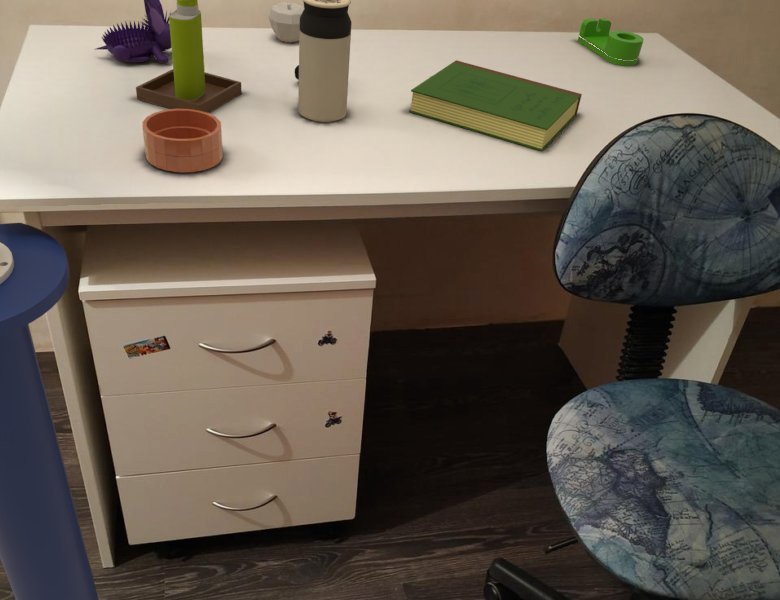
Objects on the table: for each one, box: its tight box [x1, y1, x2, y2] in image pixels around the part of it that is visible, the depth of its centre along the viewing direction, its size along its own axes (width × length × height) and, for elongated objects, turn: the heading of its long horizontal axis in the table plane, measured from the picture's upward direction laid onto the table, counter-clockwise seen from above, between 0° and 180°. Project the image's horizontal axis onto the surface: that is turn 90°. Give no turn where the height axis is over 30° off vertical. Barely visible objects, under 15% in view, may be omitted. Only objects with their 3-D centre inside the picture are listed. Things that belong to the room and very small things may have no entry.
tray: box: [135, 68, 243, 114], centre depth 133 cm, size 12×12×2 cm
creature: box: [95, 0, 172, 64], centre depth 140 cm, size 9×18×12 cm, turn 107°
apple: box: [268, 2, 304, 44], centre depth 156 cm, size 8×8×7 cm
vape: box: [168, 0, 206, 101], centre depth 126 cm, size 4×6×20 cm, turn 167°
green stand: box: [577, 17, 644, 67], centre depth 169 cm, size 15×7×5 cm, turn 22°
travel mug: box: [297, 0, 352, 123], centre depth 127 cm, size 8×8×18 cm
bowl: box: [141, 108, 224, 173], centre depth 115 cm, size 11×11×5 cm
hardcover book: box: [408, 59, 583, 152], centre depth 139 cm, size 25×19×4 cm
